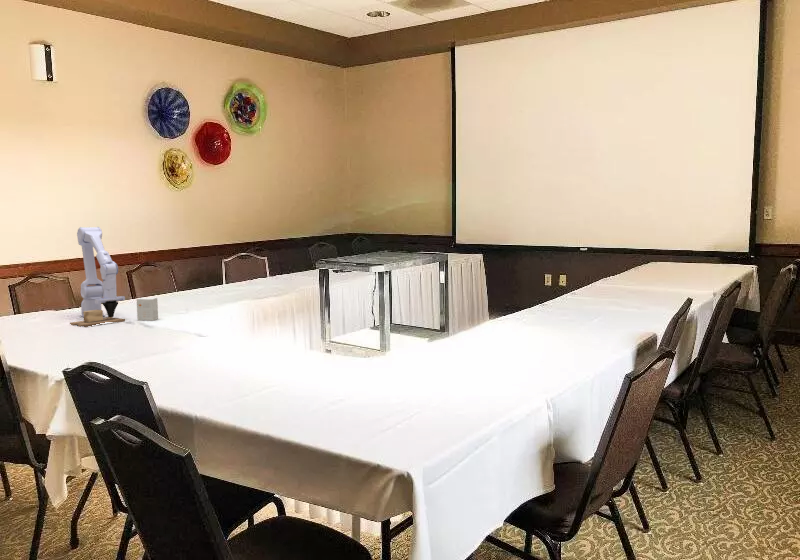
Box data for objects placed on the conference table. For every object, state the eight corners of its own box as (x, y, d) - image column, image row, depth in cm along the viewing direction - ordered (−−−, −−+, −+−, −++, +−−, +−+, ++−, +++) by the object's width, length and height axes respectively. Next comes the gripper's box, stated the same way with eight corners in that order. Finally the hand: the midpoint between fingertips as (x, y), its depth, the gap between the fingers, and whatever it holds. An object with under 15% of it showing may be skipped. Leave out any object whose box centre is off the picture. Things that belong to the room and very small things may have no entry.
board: (69, 324, 300) (69, 322, 300) (109, 318, 317) (108, 316, 317) (85, 327, 294) (85, 325, 293) (124, 321, 311) (124, 319, 310)
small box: (158, 319, 318) (157, 297, 317) (152, 320, 313) (152, 299, 311) (142, 318, 319) (142, 297, 318) (136, 320, 313) (136, 298, 312)
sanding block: (83, 322, 301) (83, 311, 301) (97, 320, 307) (97, 309, 307) (89, 322, 299) (88, 312, 299) (103, 320, 305) (102, 310, 305)
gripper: (101, 290, 301) (102, 319, 303) (128, 287, 313) (129, 315, 315) (91, 289, 305) (92, 318, 306) (119, 286, 317) (120, 314, 319)
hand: (110, 317), depth 311 cm, fingers closed
